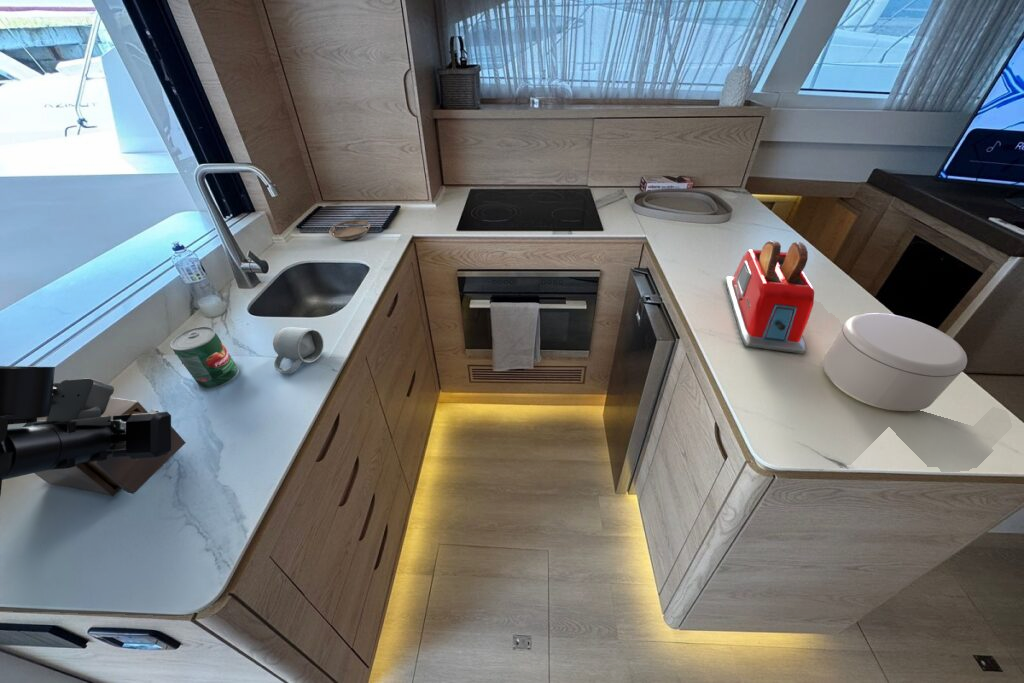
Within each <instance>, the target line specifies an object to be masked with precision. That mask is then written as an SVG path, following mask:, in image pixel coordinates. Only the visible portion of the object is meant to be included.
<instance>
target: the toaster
mask: <svg viewBox="0 0 1024 683" xmlns="http://www.w3.org/2000/svg"><path fill="white" fill-rule="evenodd" d="M781 248H782V246H781V243H780V242H779V241H776V240H769V241H767V242H765V243H764V244H763V246H762V247H761V250H760V249H748V250H747V251H746V252H745V253H744V254H743V256H742V258H741V259H740V261H739V263H738V266H737V267H736V270H735V272H734V274H733V276H731V275H730V276H727V277H726V279H725V283H726V288H727V291H728V292H727V293H728V296H729V299H730V303H731V306H732V310H733V313H734V315H735V316H734V317H735V320H736V324H737V328H738V331H739V334H740V337H741V339H742V342H743V344H744V345H745V346H746V347H750V348H755V349H756V348H757V349H763V350H764V349H765V350H770V351H771V350H772V351H779V352H785V353H794V354H804V353H805V352H806V350H807V347H806V343H805V341H804V339H803V337H802V336H803V334H804V332H805V329H806V326H807V324H808V321H809V319H810V316H811V313H812V310H813V308H814V304H815V303H814V302H815V290H814V288H813V285H812V284H811V283H810V281H809V280H808V277H807V276H806V275H805V273H804V270H805V268H806V265H807V263H808V258H809V256H808V255H809V251H808V248H807V245H806V244H804V242H801V241H796V242H792V243H791V244H790V246H789V248H788V249H787V252H786V251H785V252H784V251H781V250H782V249H781Z"/></svg>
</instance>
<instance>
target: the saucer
mask: <svg viewBox="0 0 1024 683" xmlns="http://www.w3.org/2000/svg"><path fill="white" fill-rule="evenodd" d="M344 224H365V225H367V226H368V229H367V228H366V227H363V226H349V227H345V228H342V229H339V230H338V231H336V232H335V233H334V235H333V232H334V230H335V227H337V226H339V225H344ZM370 228H371V223H370V222H369V221H366V220H359V219H358V220H356V219H355V220H348V221H343V222H340V223H337V224H335V225H333V226H331V227H330V229H329V230H328V233H329V234H330V235H331V236H332V237H333V238H335V239H338V240H341V241H352V240H356V239H360V238H362V237H363V236H365V235H366V234H367V233H368V232H369V230H370Z"/></svg>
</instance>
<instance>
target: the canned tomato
mask: <svg viewBox="0 0 1024 683" xmlns="http://www.w3.org/2000/svg"><path fill="white" fill-rule="evenodd" d="M169 347H170V349H171V350H172V351H173V352H174V354H175V355H176V356H177V358H178V359H179V360H180V362H181V363H182V364H183V366H184V367H185V369H186V370H187V372H188V373H189V374H190V375H191V377H192V378H193V380H194V381H195V382H196V383H197V385H198V387H199V388H201V389H202V390H214V389H218V388H221V387H223V386H226V385H228V384H229V383H231V382H233V380H235V378H237V376H238V374H239V372H240V369H239V366H237V364H236V362H235V361H234V359H233V358H232V355H231V354H230V353H229V351H228V349H227V348H226V347H225V345H224V343H223V342H222V340H221V339H220V337H219V335H218V334H217V332H216V330H215V328H213V327H211V326H197V327H193V328H190V329H187V330H185V331H183V332H181V333H179V334H178V335H176V336H175V337H173V339H172V340H171V341H170V344H169Z"/></svg>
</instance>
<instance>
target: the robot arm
mask: <svg viewBox="0 0 1024 683" xmlns="http://www.w3.org/2000/svg"><path fill="white" fill-rule="evenodd" d="M55 371H56V366H35V365H33V366H29V365H28V366H24V365H23V366H21V365H18V366H17V365H0V497H1V494H2V485H3V481H4V480H10V479H13V478H19V477H22V476H27V475H32V474H35V473H37V472H41V471H46V470H54V469H67V468H71V467H75V464H78V463H82V462H94V461H103V460H107V456H108V455H110V454H112V453H113V457H125V456H129V457H130V458H131V459H139V458H153V457H159V456H163V455H167V454H168V453H169V452H170V451H171V426H172V415H171V413H169V412H168V411H158V412H156V413H149V412H148V413H143V414H134V415H118V416H113V420H111V416H102V417H101V415H102V414H103V413H104V412H105V410H106V407H107V405H108V402H109V399H110V398H111V396H112V395H114V392H115V387H114V386H113V385H112V384H109V383H106V382H102V381H100V380H96V379H93V378H90V377H89V378H73V379H64V380H63V381H60V382H54V380H55ZM40 417H47V419H46V420H40V421H37V418H40ZM19 424H20V425H21V424H22V425H23V426H21V427H12V428H9V426H10V425H19Z"/></svg>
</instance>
